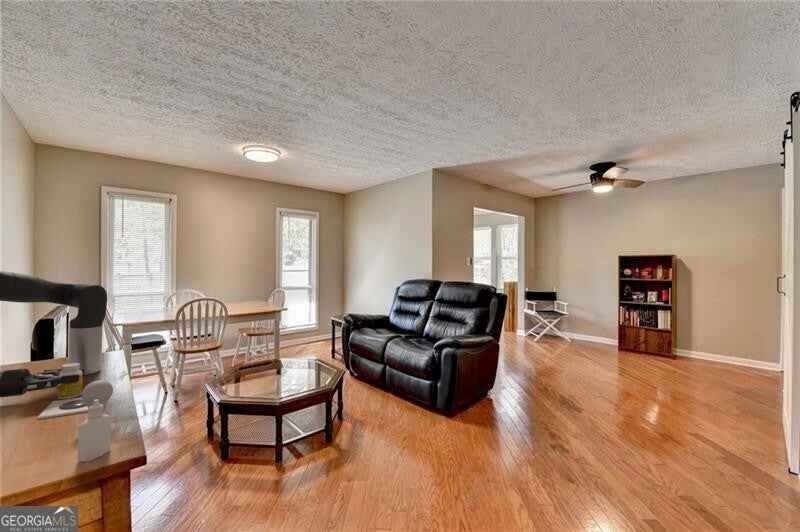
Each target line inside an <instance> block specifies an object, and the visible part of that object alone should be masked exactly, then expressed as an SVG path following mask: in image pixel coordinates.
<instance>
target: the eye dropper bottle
mask: <svg viewBox="0 0 800 532" xmlns="http://www.w3.org/2000/svg"><path fill="white" fill-rule="evenodd" d="M103 409H104V405H103V404H100V403H99V400H98V399H96V400H94V403H93V405H92V406H90V407H89V411H88V412H87V413H88V415H87V416H88V417H87V418H86V419H85V420H84V421H82V423H81V424H79V427H78V440H77V461H78V462H81V463H82V462H83V463H88V462H91V461H94V460H96V459H98V458H100V457H103V456H104V455H105V454H106V453H108V452H109V451H110V449H111V446H112V445H111V443H112V440H111V439H112V416H111V415H110V414H106V413H105V414H103Z"/></svg>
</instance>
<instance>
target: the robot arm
mask: <svg viewBox="0 0 800 532" xmlns="http://www.w3.org/2000/svg"><path fill="white" fill-rule="evenodd" d="M0 302H10V303H24V304H26V303H27V304H28V303H29V304H30V303H34V304H35V303H50V304H57V305H61V306H66V307H70V308H71V307H72V308H76V309H77V315H76V316H75V317H73V318H72V319H70V321H69V326H68V327H69V329H68V332H69V333H68V336H69V337H68V357H67V358H68V362H67V364H70V363H79V364H80V368H79V370H81V371H82V372H83V376H82V378H83V377H84V376H85V375H90V374H91V375H92V374H96V373H98V371H99V372H101V370H102V361H103V360H102V359H103V356H102V355H103V328H104V327H103V325H104V320H105V319H106V316H107V305H108V293H107V290H106V289H105V287H104V286H102V285H100V284H94V283H93V284H92V283H68V282H55V281H51V280H47V279H44V278H41V277H37V276H35V275H30V274H24V273H19V272H11V271H4V270H0ZM30 372H31V371H30V370H29V369H28V368H16V369H6V370H0V399H1V398H9V397H10V398H11V397H17V396H24V395H26V393H27V392H29V393H30V392H32V391H39V390H41V391H42V390H45V389H46V390H47V389H52V388H53V389H54V388H58V386H59V385H62V384H66V383H75V382H78V381H79V380H80V375H78V374H77V375H68V376H63V377H62V376H59V374H60V373H61V372H63V371H62V368H61V369H60V368H57V369H44V370H43V371H37V373H33V374H31V373H30Z"/></svg>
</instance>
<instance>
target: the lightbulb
mask: <svg viewBox="0 0 800 532" xmlns="http://www.w3.org/2000/svg"><path fill="white" fill-rule="evenodd" d="M113 393H114V388H113V384H112V383H111V382H109V381H108V380H105V379H104V380H101V379H99V380H94V381H92V382H89V383H88V384H87V385H86V386H85V387H84V388H82V394H81V397H82V400H83V401H84V403H85V404H86V405H87V407H88V410H89V407H90V406H92V405H93V403H94V400H96V399H98V400H99V403H100V404H103V405H104V409H103V414H104V413H105V411H106V406H107V404H108V401H109V400H110V399H111V397H112V396H113Z"/></svg>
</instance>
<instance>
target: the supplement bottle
mask: <svg viewBox="0 0 800 532" xmlns="http://www.w3.org/2000/svg"><path fill="white" fill-rule="evenodd" d="M79 368H80V364H79V363H70V364H68V363H66V364H62V365H61V369H62V371H63V372H61V373H60V374H59V376H62V377H63V376H68V375H77V374H78V375H80V380H79V381H78V382H75V383H66V384H62V385H59V386H58V385H57V398H58V399H59V400H66V399H74V398H78V397H79V396H82V391H83V377H84V376H83V372H82V371H81V370H79ZM82 376H83V377H82Z"/></svg>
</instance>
